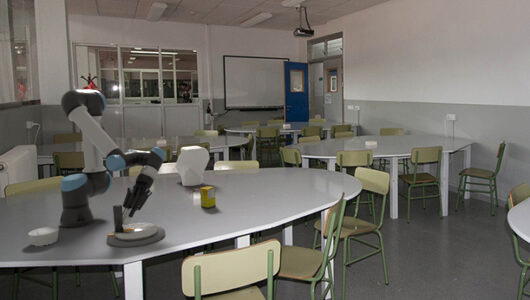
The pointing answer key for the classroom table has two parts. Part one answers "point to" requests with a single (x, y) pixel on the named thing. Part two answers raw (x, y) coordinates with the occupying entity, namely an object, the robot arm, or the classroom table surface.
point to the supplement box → (207, 197)
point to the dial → (131, 228)
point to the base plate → (118, 243)
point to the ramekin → (43, 236)
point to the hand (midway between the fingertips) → (123, 223)
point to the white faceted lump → (192, 165)
